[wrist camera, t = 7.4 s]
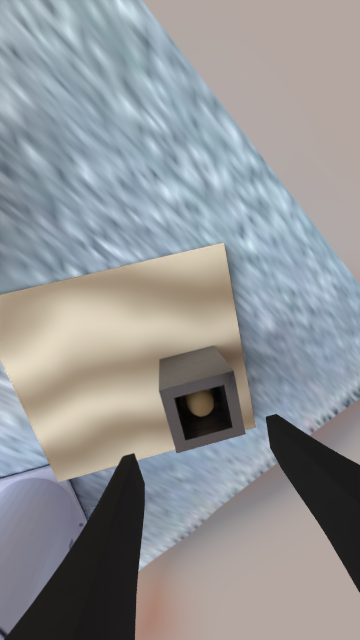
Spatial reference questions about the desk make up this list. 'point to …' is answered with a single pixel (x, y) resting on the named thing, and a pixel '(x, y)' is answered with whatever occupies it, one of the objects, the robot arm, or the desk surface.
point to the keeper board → (116, 355)
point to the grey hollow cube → (194, 376)
